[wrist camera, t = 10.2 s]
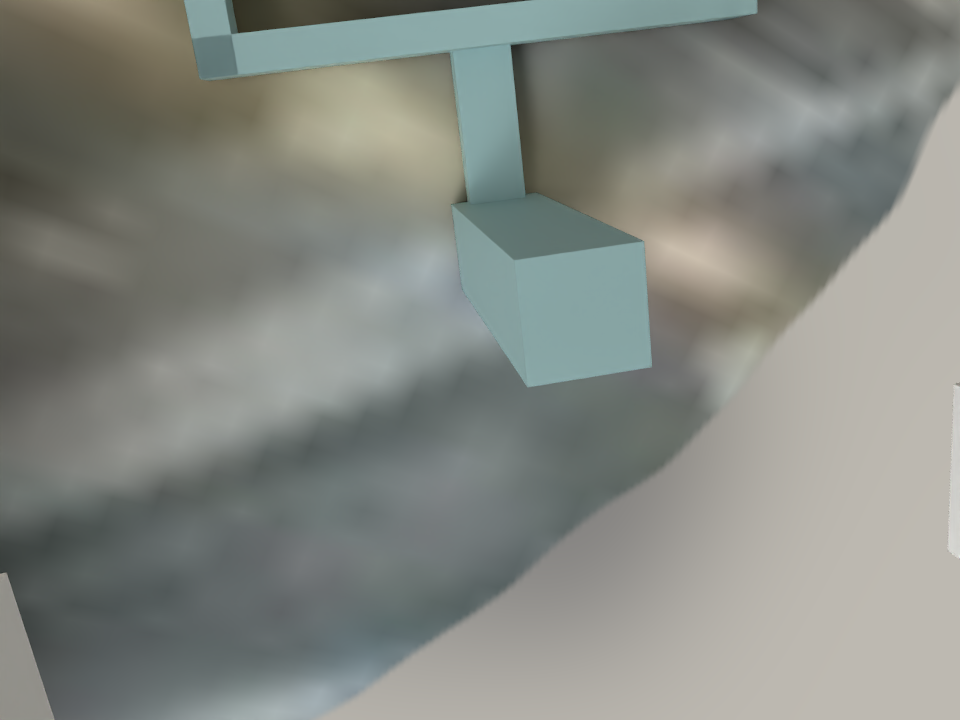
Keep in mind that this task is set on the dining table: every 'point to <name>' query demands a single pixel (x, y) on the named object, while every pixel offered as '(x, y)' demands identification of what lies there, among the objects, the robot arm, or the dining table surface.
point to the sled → (497, 167)
